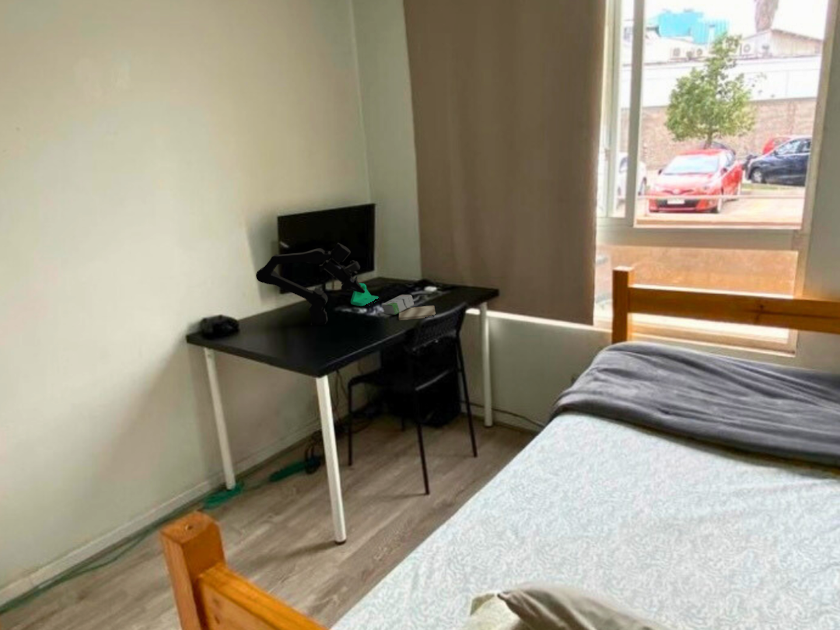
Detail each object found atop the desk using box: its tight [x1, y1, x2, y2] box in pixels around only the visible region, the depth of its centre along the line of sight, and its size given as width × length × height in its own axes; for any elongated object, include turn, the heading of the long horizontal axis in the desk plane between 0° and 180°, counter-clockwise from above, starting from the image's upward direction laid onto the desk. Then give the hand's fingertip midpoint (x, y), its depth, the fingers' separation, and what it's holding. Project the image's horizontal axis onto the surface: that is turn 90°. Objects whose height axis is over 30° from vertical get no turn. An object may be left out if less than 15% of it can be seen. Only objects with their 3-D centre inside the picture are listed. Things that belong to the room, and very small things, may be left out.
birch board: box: [398, 305, 436, 321], centre depth 250 cm, size 16×14×1 cm
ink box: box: [381, 294, 415, 315], centre depth 255 cm, size 9×5×12 cm
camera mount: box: [350, 282, 380, 307], centre depth 274 cm, size 12×8×10 cm, turn 136°
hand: (364, 292), depth 247 cm, fingers closed
